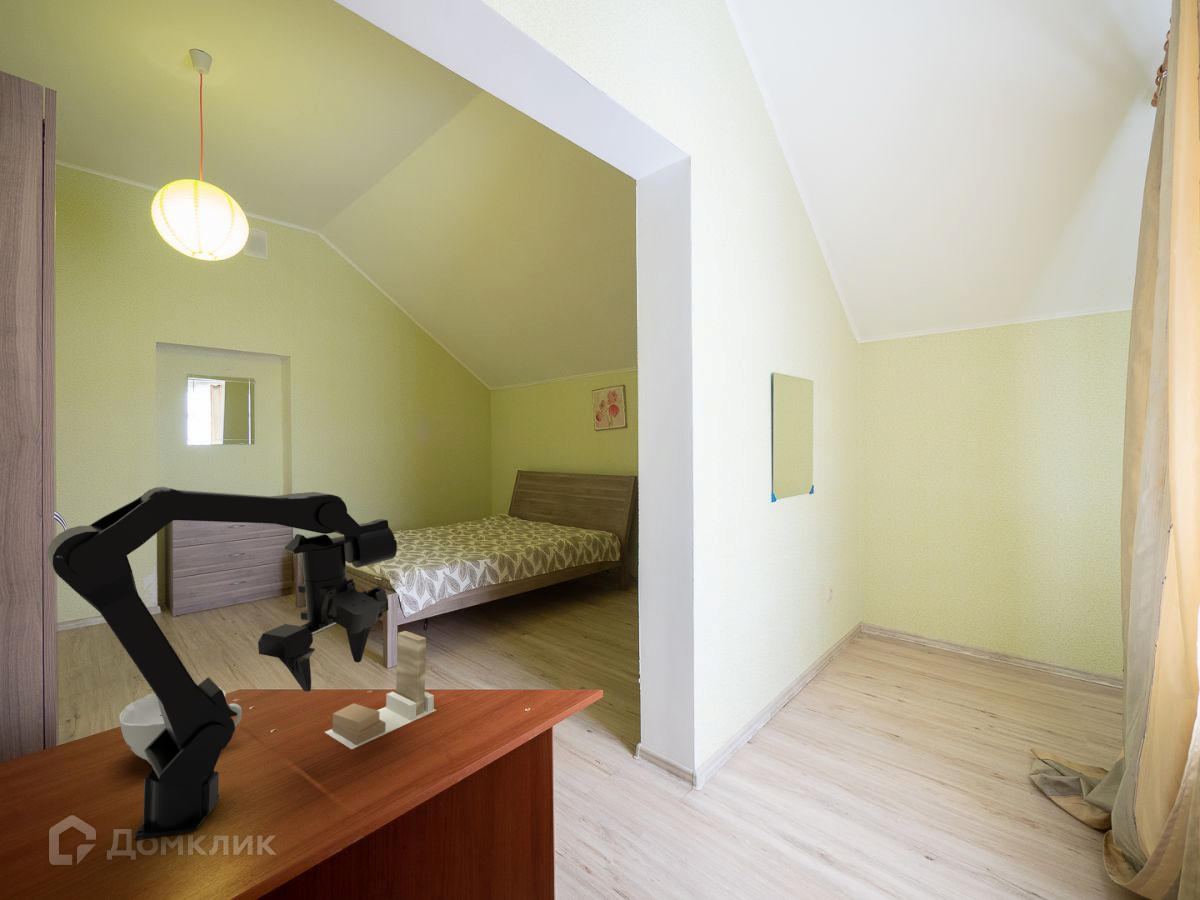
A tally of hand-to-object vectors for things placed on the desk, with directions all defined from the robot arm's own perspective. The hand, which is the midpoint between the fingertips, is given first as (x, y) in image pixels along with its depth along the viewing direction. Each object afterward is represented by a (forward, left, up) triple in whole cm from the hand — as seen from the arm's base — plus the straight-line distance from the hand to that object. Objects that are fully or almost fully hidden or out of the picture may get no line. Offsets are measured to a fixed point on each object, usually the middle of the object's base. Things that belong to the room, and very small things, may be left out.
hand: (333, 675), depth 80 cm
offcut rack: (+6, +8, -12) cm, 16 cm away
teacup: (-22, +5, -13) cm, 26 cm away
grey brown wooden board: (+10, +11, -11) cm, 19 cm away
